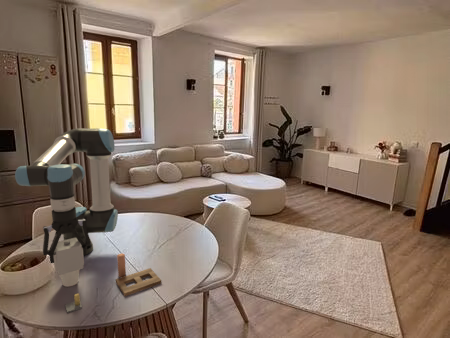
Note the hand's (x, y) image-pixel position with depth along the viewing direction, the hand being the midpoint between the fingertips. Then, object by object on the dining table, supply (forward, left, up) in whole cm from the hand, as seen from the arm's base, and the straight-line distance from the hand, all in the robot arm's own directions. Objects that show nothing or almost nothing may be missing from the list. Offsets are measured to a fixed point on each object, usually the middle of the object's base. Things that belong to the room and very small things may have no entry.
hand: (69, 266), depth 108 cm
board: (-1, +26, -17) cm, 31 cm away
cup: (-18, +2, -17) cm, 25 cm away
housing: (0, 0, 0) cm, 0 cm away
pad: (0, 0, -17) cm, 17 cm away
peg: (-11, +22, -17) cm, 30 cm away
